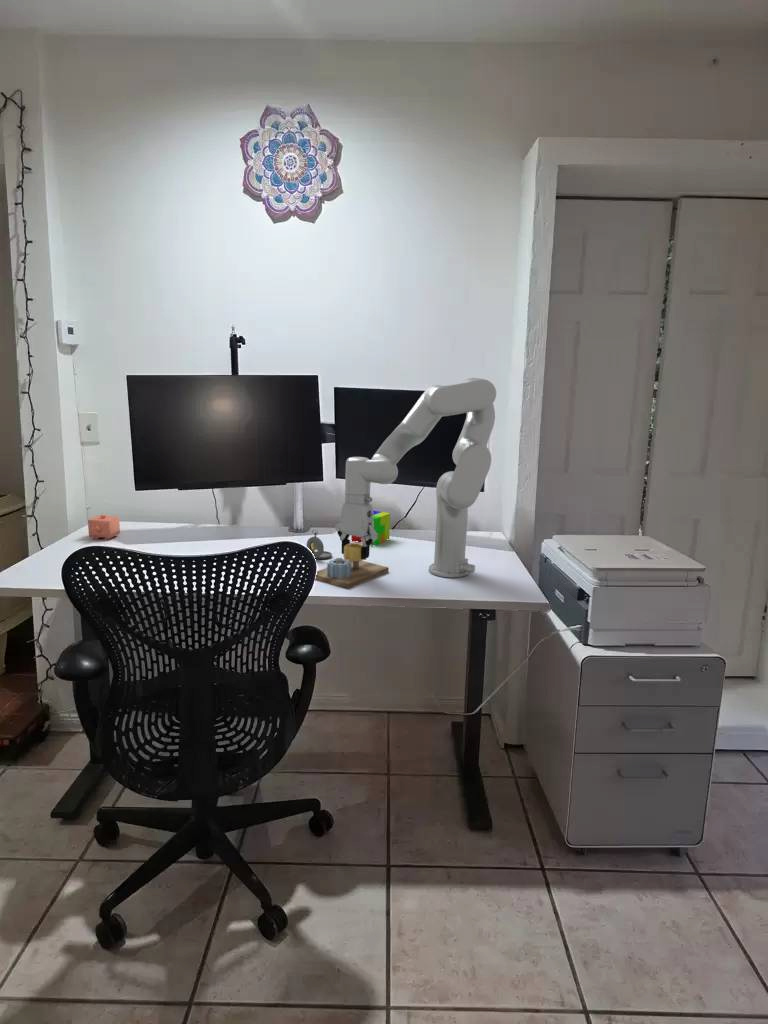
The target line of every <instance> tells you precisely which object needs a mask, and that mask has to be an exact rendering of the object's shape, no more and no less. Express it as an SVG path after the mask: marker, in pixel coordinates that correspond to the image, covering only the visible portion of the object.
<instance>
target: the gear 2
mask: <svg viewBox="0 0 768 1024" xmlns="http://www.w3.org/2000/svg"><path fill="white" fill-rule="evenodd" d="M362 546H363V544H362V543H358V542H350V543H349V544H346V545H345V546H344V554H343V559H344V560H350V561H352V562H353V561H359V562H360V561H366V560H367V558H366V559H361V547H362Z"/></svg>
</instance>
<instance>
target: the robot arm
mask: <svg viewBox="0 0 768 1024" xmlns="http://www.w3.org/2000/svg"><path fill="white" fill-rule="evenodd" d="M496 398H497V390H496V386H495V384H493V383H492V382H491V381H490V380H487V379H485V378H479V377H469V378H466V379H465V380H463V381H462V383H461V382H460V383H456V384H449V385H441V384H434V385H433V384H432V385H431V386H429V387H428V388H426V389H425V390H424V392H423V393H422V394H421V395H420V397H419V398H418V400H417V401H416V402H415V404H414V405H413V406H412V408H411V409H410V410H409V412H408V413H407V415H406V416H405V417H404V419H403V420H402V421H401V422H400V423H399V425H397V427H395V429H394V430H393V431H391V434H389V435H388V437H386V439H385V440H384V441H383V442H382V443H381V445H380V446H379V448H378V449H377V450H376V451H375V453H374V454H373V456H372V458H371V459H369V458H368V457H364V456H352V457H351V456H350V457H348V458H347V459H346V461H345V478H344V479H345V480H344V501H343V502H342V505H341V511H340V518H339V519H340V520H339V522H337V524H335V525H334V529H335V531H336V532H337V535H338V537H339V540H340V541H341V554H342V555H344V546H345V545H346V544H349V543H351V539H349V538H350V537H351V535H352V536H356V537H360V538H361V541H362V543H361V544H363V546H362V547H361V559H366V560H367V559H368V558H369V557H370V552H371V551H370V549H371V548H370V546H372V545H371V544H372V543H373V542H374V541H375V540H376V539H377V538H378V534H377V533H376V531H375V530H374V515H373V511H374V510H373V505H372V501H373V497H371V483H373V484H380V485H389V484H392V483H394V482H395V481H396V480H397V478H398V475H399V469H398V466H397V465H398V463H399V462H400V460H401V459H402V458H403V457H404V455H405V454H406V453H408V451H410V450H411V449H412V448H414V447H415V446H418V445H420V444H421V443H422V442H423V441H425V439H426V438H427V437H428V436H429V434H430V433H431V432H432V430H433V429H434V428H435V426H436V425H437V423H438V422H439V421H440V420H441V418H442V417H450V416H455V415H461V414H466V417H465V420H464V424H463V426H462V430H461V432H460V434H459V437H458V439H457V442H456V444H455V446H454V448H453V450H452V457H451V458H452V461H453V463H454V464H455V465H456V466H455V468H454V471H453V470H451V471H447V472H444V473H443V474H442V475H441V476H440V477H439V479H438V481H437V483H436V488H435V492H436V493H435V495H436V519H435V521H436V522H435V540H434V555H433V556H434V558H433V560H434V561H433V563H431V564H430V565H429V566H428V571H429V573H430V574H432V575H435V576H438V577H443V578H453V579H454V578H463V577H465V576H467V575H469V573H471V574H474V573H475V570H476V565H475V564H470V562H469V559H468V558H466V548H467V547H466V546H467V534H468V533H467V532H468V519H469V518H468V517H469V514H468V510H469V509H468V508H470V507H472V506H473V504H474V503H475V502H476V500H477V499H478V497H479V495H480V492H481V490H482V488H483V485H484V483H485V481H486V479H487V476H488V474H489V471H490V468H491V465H492V464H491V463H492V454H491V451H490V449H489V448H488V446H487V445H488V443H489V440H490V438H491V435H492V431H493V429H494V425H495V422H496V421H495V420H496V412H495V405H494V402H495V401H496ZM369 535H371V538H370V537H369ZM365 538H366V539H365Z"/></svg>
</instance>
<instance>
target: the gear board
mask: <svg viewBox="0 0 768 1024" xmlns="http://www.w3.org/2000/svg"><path fill="white" fill-rule="evenodd" d="M335 559H336V564H342V559H343V558H342V557H336V558H335ZM348 561H349V563H351V575H349V577H348V578H346V577H345V578H342V579H338V578H331V577H330V576H327V567H325V568H322V569H320V570H318V571H316V572H317V575H316V579H315V580H317V581H319V582H323V583H326V584H330V585H333V586H336V587H340V588H343V589H346V590H348V589H351V588H353V587H355V586H359V585H361V584H363V583H366V582H368V581H371V580H373V579H375V578H378V577H381V576H382V575H385V574H387V573H389V569H390V567H388V566H384V565H380V564H376V563H373V562H369V561H366V560H362V561H360V562H359V561H353V562H352V561H350V560H348Z"/></svg>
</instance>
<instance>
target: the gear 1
mask: <svg viewBox="0 0 768 1024" xmlns="http://www.w3.org/2000/svg"><path fill="white" fill-rule="evenodd" d="M326 565H327V567H326V568H327V576H330V577H331V578H338V579H342V578H345V577H346V578H348V577H349V575H351V563H349V561H348V560H345V559H344V558H342V564H336V558H333V559H331V560H329V561H328V562H327V564H326Z"/></svg>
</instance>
